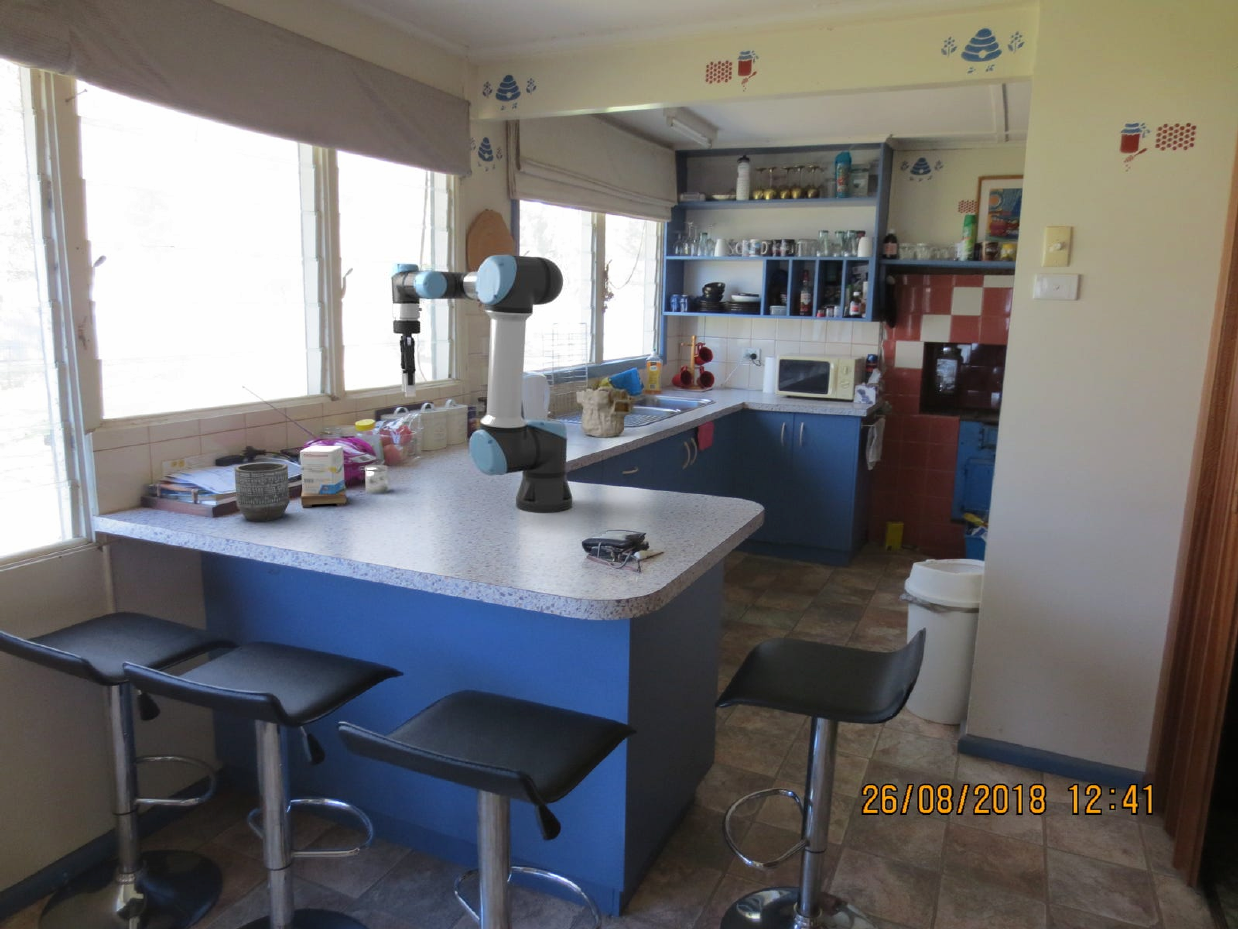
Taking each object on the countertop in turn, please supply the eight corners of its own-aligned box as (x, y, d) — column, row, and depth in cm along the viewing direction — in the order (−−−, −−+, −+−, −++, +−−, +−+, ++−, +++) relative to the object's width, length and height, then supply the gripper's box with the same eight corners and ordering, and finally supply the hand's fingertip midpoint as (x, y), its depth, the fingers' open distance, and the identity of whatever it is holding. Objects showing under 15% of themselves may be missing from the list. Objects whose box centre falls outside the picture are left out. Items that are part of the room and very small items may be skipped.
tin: (388, 493, 242) (388, 468, 240) (365, 494, 240) (365, 469, 239) (387, 488, 248) (386, 464, 246) (365, 489, 246) (364, 465, 244)
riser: (346, 505, 227) (345, 494, 226) (301, 507, 223) (301, 496, 223) (345, 496, 237) (345, 485, 236) (303, 498, 234) (302, 487, 233)
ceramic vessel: (601, 408, 373) (626, 365, 358) (628, 449, 362) (655, 406, 347) (559, 410, 359) (583, 366, 344) (586, 453, 347) (612, 409, 332)
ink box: (345, 488, 234) (344, 445, 231) (333, 495, 225) (331, 450, 223) (314, 487, 234) (312, 444, 232) (301, 493, 226) (299, 449, 224)
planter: (300, 515, 216) (298, 465, 213) (259, 525, 206) (255, 473, 203) (269, 508, 222) (266, 460, 219) (226, 518, 212) (223, 467, 209)
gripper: (424, 320, 234) (426, 398, 238) (416, 318, 257) (418, 389, 261) (395, 320, 232) (398, 399, 236) (390, 318, 255) (392, 389, 259)
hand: (408, 394), depth 248 cm, fingers open, 13 cm apart
